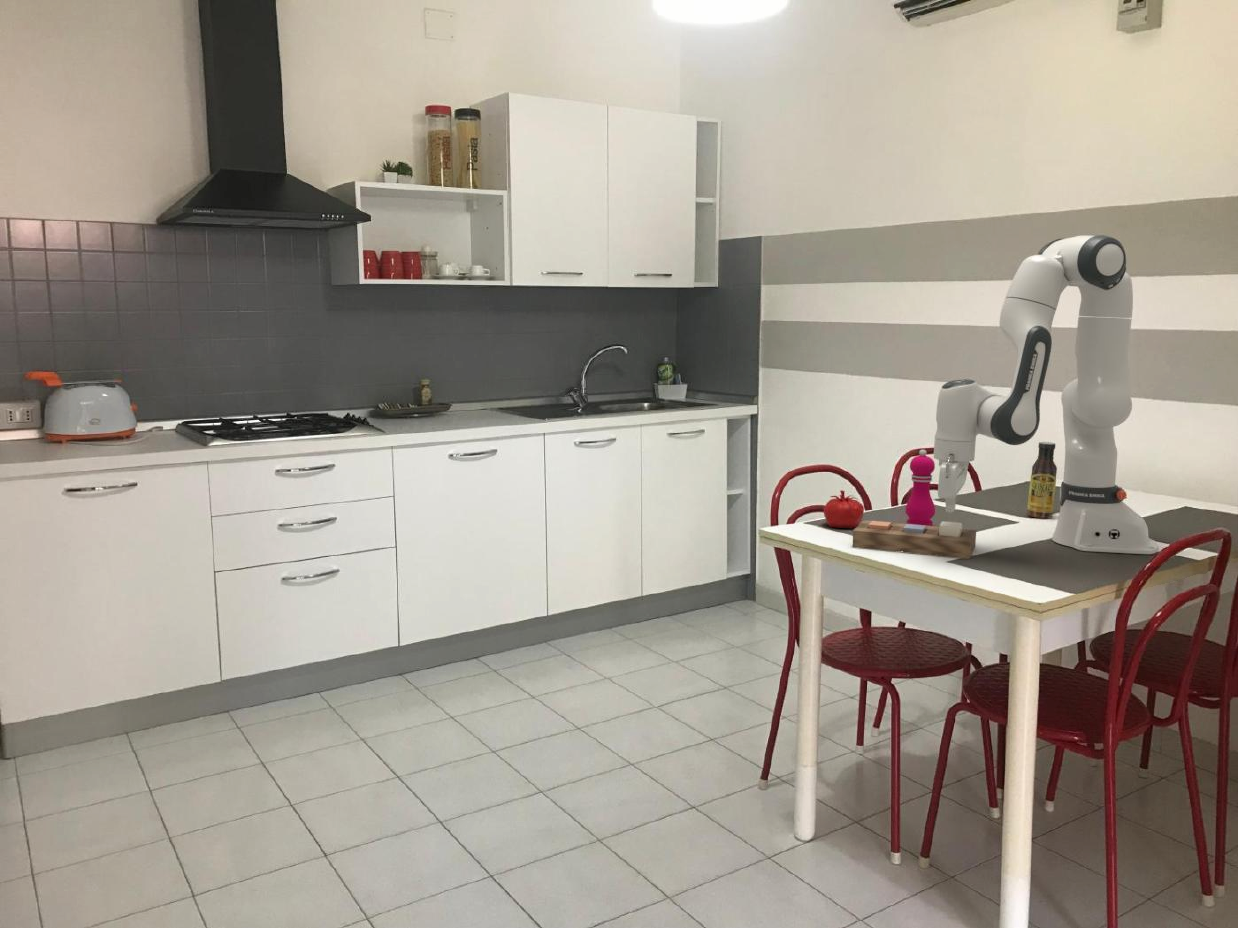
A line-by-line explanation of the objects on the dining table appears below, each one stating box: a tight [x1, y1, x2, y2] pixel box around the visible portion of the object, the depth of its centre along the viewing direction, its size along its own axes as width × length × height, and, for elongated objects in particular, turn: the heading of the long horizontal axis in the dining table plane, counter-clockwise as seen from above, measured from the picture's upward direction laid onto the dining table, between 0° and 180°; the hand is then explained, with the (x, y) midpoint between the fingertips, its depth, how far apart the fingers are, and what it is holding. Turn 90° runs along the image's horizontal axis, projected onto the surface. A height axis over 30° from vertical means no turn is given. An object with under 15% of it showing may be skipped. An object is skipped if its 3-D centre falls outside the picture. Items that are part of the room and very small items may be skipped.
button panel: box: [852, 519, 977, 560], centre depth 234 cm, size 26×12×4 cm, turn 65°
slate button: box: [903, 523, 926, 534], centre depth 234 cm, size 4×4×4 cm
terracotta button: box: [869, 520, 892, 530], centre depth 237 cm, size 4×4×4 cm
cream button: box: [939, 520, 963, 537], centre depth 230 cm, size 4×4×4 cm
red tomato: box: [823, 490, 865, 529], centre depth 255 cm, size 10×10×9 cm
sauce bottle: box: [1026, 441, 1058, 519], centre depth 264 cm, size 7×6×20 cm
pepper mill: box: [905, 449, 936, 526], centre depth 252 cm, size 7×7×20 cm
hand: (950, 511), depth 229 cm, fingers closed
